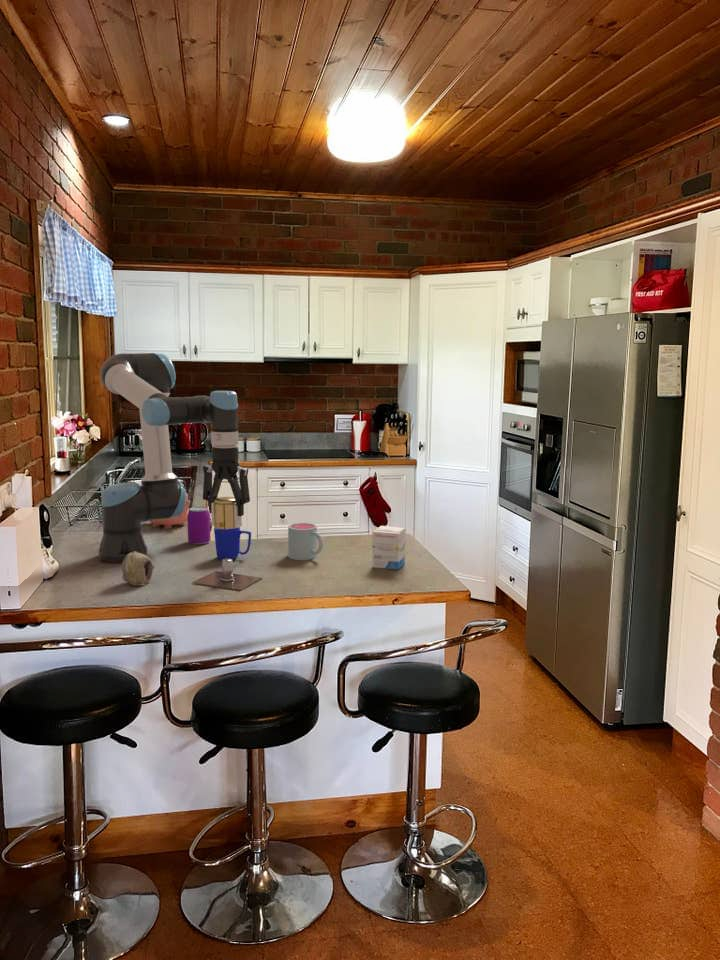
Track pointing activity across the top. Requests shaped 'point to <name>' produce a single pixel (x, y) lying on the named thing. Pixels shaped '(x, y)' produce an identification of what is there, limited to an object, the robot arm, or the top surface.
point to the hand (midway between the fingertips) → (226, 525)
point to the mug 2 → (303, 541)
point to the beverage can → (198, 525)
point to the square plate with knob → (227, 578)
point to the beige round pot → (137, 569)
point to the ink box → (388, 547)
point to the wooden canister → (224, 512)
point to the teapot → (174, 518)
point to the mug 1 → (229, 542)
